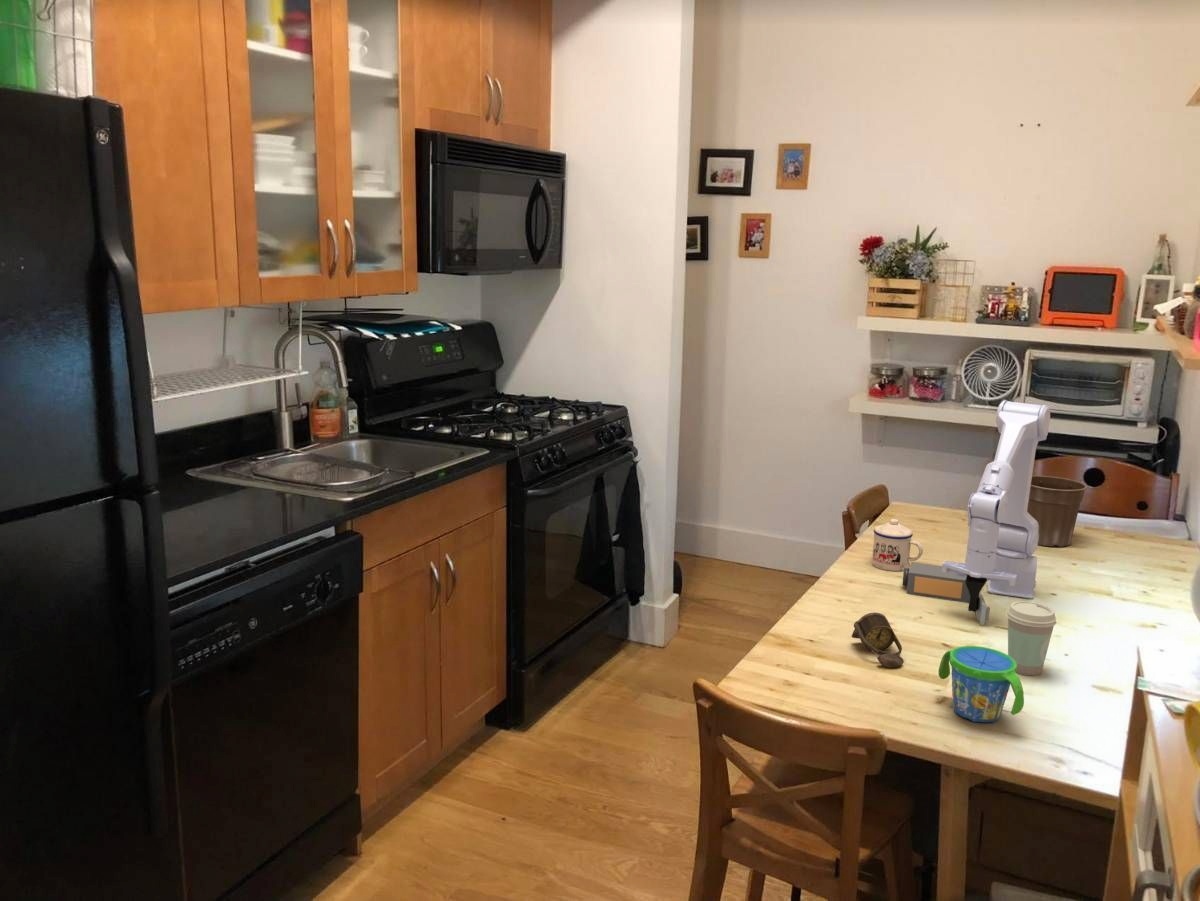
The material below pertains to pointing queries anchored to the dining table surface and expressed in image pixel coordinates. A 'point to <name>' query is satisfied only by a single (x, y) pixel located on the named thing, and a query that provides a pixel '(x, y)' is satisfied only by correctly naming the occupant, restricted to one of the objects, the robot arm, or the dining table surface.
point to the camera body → (935, 582)
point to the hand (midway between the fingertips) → (973, 610)
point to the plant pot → (1055, 508)
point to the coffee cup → (1029, 635)
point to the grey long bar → (982, 610)
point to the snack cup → (981, 682)
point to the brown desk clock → (878, 638)
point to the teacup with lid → (893, 546)
